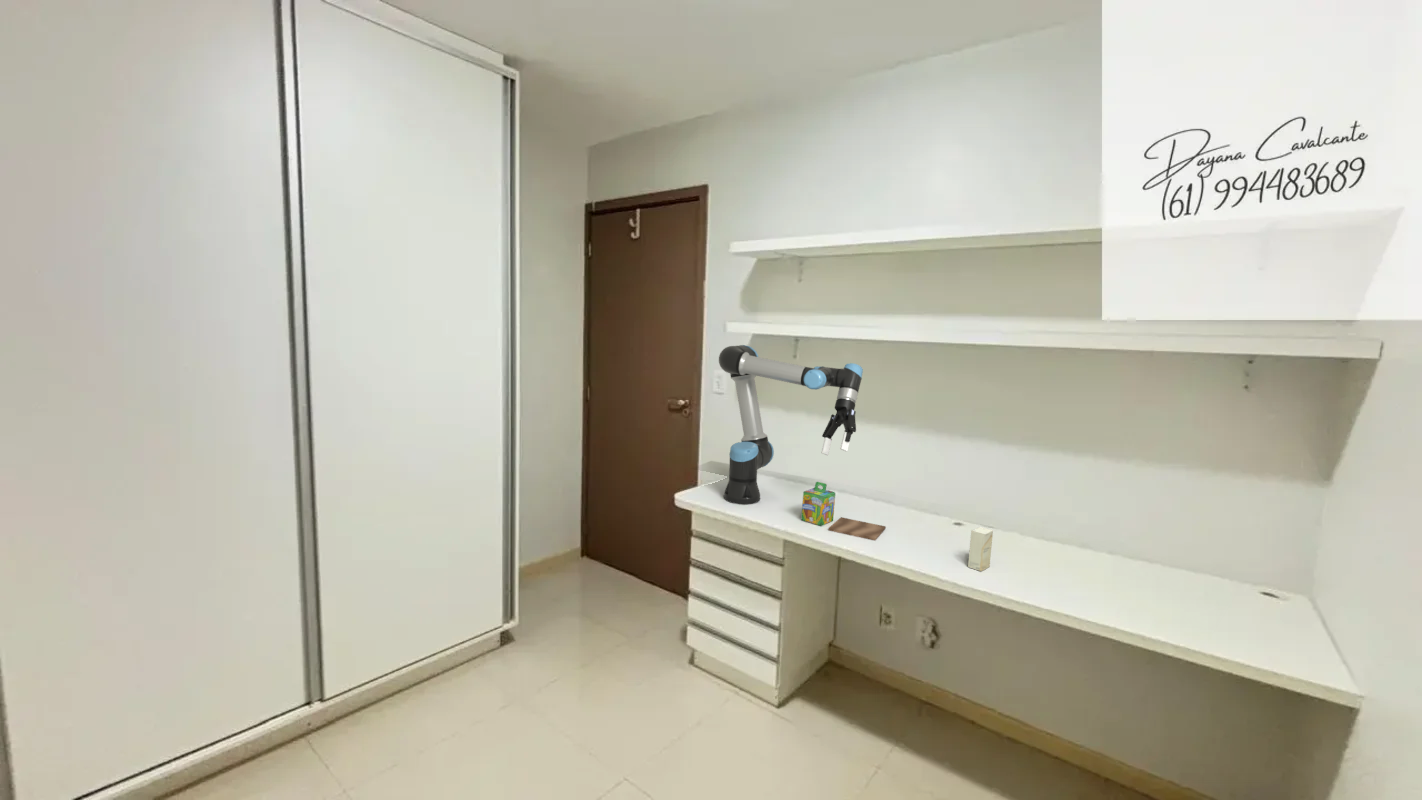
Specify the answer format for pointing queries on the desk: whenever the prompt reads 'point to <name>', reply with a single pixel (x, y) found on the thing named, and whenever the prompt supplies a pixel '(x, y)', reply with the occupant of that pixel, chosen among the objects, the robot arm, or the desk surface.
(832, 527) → the walnut board
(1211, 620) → the desk surface
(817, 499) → the chalk box
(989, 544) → the skincare box
